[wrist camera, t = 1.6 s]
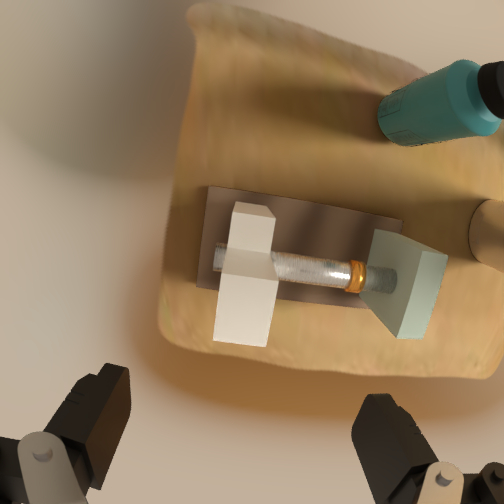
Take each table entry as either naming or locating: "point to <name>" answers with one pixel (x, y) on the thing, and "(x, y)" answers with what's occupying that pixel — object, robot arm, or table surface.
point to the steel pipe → (324, 271)
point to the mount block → (405, 283)
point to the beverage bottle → (445, 105)
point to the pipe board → (295, 239)
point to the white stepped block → (247, 278)
